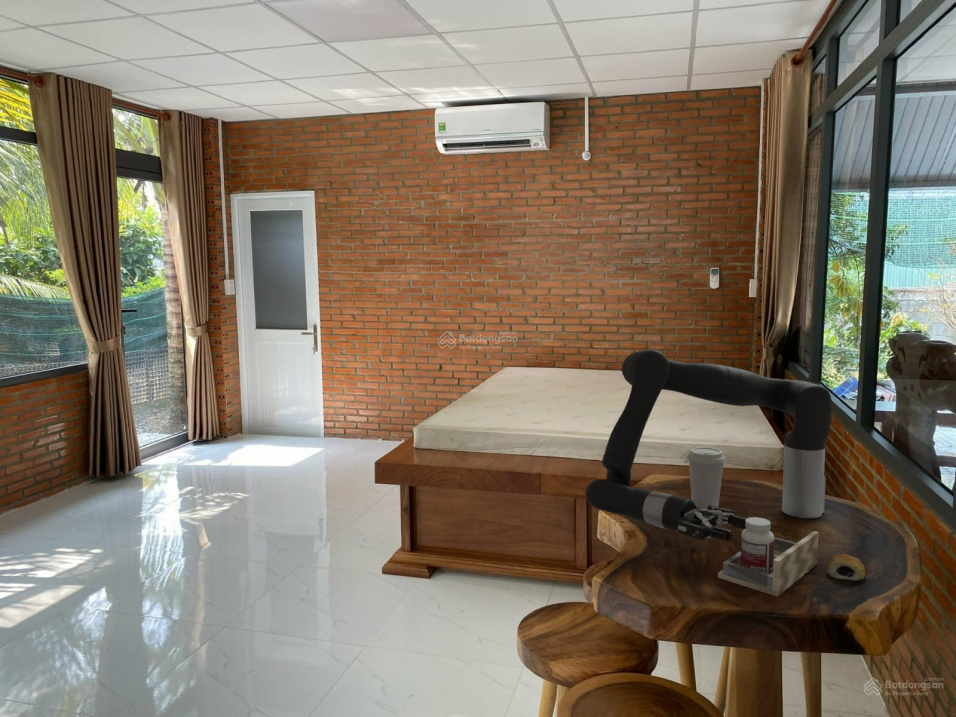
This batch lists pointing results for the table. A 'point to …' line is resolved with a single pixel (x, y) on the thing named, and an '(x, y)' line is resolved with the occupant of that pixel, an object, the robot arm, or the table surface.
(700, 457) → the coffee cup
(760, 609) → the table surface
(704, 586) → the table surface
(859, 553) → the table surface
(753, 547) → the pill bottle
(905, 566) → the table surface
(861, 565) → the pastry
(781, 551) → the bottle rack
